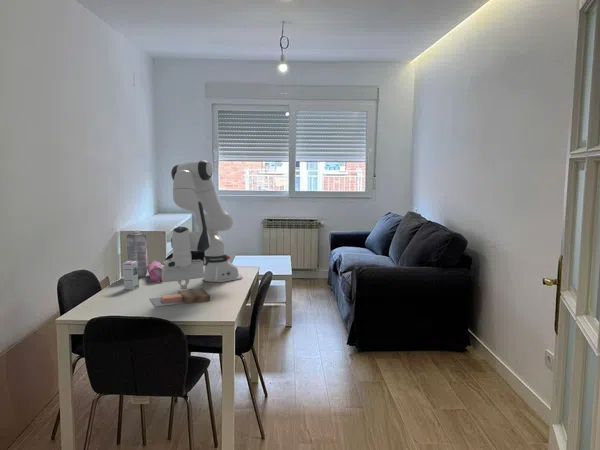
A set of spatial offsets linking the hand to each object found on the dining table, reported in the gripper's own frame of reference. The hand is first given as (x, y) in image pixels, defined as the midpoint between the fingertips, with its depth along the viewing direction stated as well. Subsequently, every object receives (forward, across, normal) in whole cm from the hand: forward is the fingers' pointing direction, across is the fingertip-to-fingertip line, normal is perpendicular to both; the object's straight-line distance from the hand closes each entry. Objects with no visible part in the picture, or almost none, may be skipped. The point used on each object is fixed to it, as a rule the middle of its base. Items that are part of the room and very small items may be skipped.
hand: (183, 288), depth 252 cm
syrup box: (+6, +20, -36) cm, 42 cm away
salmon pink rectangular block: (+5, +6, 0) cm, 8 cm away
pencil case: (+6, +3, -55) cm, 56 cm away
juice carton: (+6, +12, -66) cm, 67 cm away
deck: (+5, -5, 0) cm, 7 cm away
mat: (+5, +8, 0) cm, 10 cm away
